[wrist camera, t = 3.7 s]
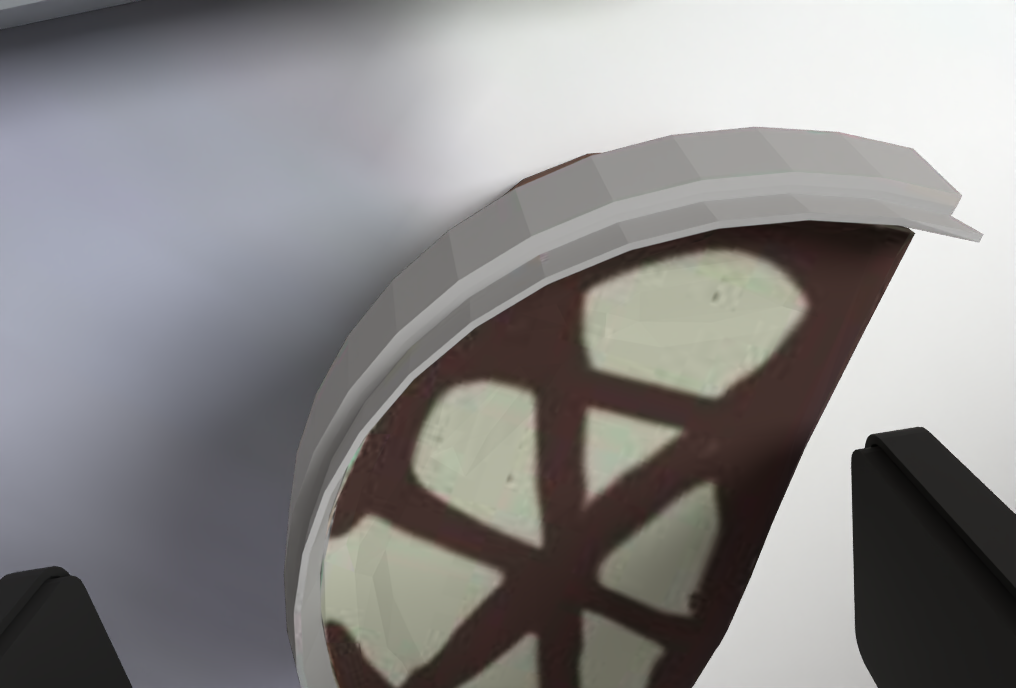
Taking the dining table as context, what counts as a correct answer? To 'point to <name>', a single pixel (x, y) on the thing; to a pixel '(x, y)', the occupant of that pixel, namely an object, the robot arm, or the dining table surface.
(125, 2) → the tray
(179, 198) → the dining table surface
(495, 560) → the food container
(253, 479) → the dining table surface
